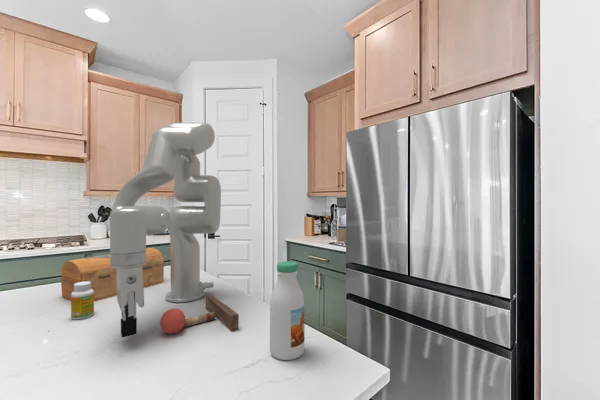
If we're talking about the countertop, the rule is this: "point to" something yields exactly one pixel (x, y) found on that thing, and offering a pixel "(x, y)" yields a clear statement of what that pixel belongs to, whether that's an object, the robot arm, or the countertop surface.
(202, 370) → the countertop surface
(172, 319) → the ball
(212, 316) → the pin
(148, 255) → the wooden box
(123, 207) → the robot arm
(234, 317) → the wall
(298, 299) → the milk bottle
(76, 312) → the supplement bottle
